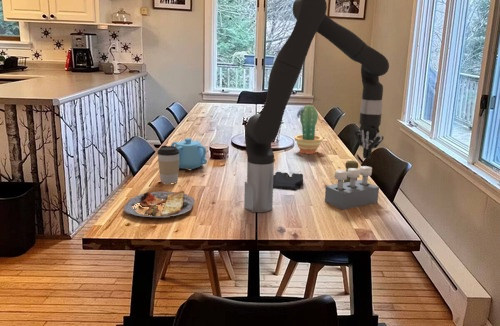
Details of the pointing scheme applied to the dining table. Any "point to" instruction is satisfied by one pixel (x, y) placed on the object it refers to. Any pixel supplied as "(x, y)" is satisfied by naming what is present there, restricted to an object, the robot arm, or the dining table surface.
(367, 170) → the knob far
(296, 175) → the dark slate chunk
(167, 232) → the dining table surface
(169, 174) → the coffee cup
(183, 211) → the food plate
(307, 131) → the potted cactus
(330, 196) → the mount block
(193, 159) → the decorative pot
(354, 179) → the knob middle
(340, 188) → the knob near
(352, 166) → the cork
